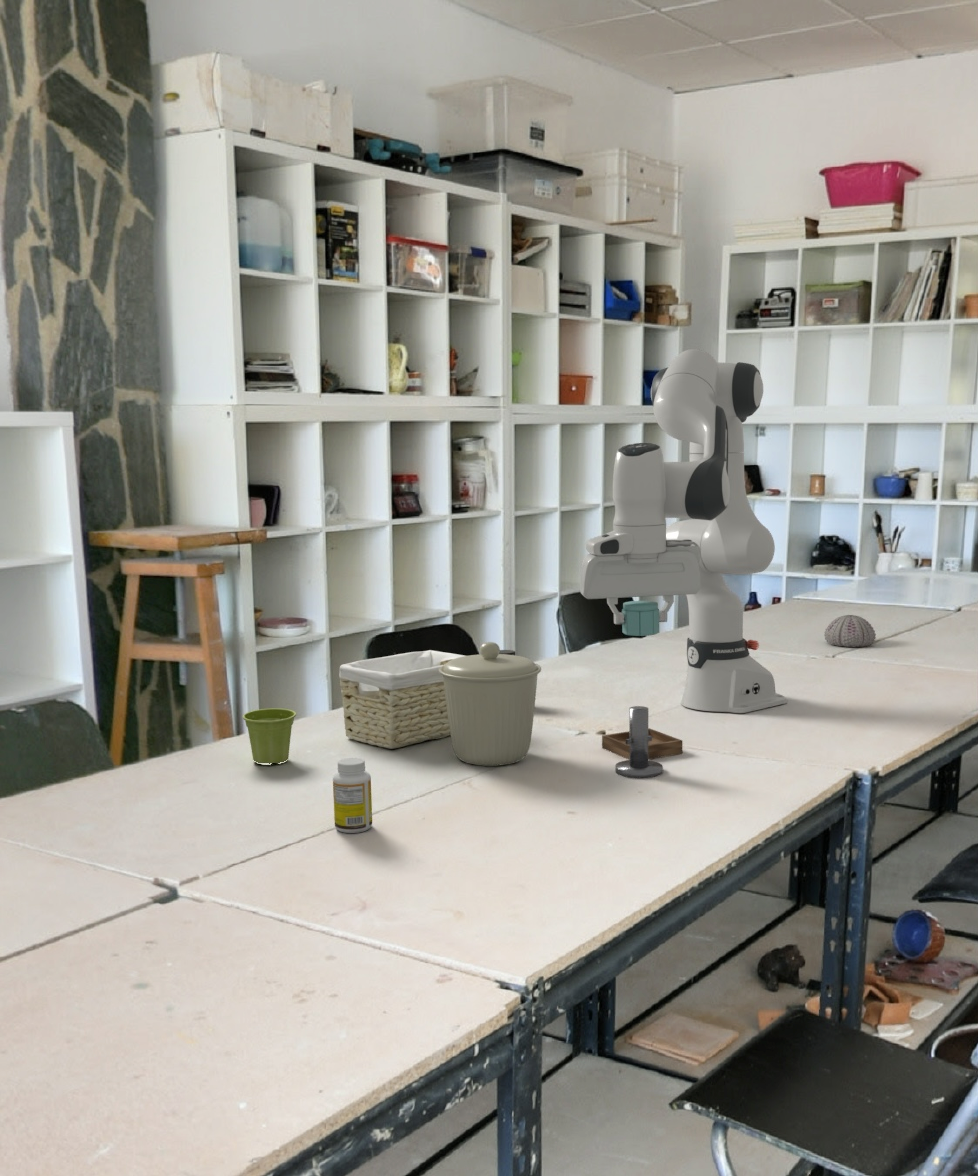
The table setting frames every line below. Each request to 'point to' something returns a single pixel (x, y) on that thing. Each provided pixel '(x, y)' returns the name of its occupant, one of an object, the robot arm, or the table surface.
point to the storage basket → (395, 698)
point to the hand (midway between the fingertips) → (640, 622)
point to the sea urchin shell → (850, 632)
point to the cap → (640, 618)
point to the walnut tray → (656, 747)
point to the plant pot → (270, 734)
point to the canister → (490, 705)
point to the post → (638, 748)
